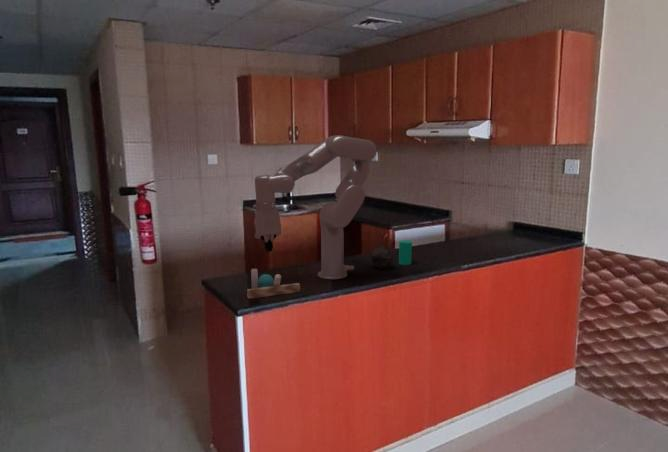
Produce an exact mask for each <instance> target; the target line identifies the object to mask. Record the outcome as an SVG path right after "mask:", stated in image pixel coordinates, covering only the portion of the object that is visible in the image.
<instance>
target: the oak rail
mask: <svg viewBox="0 0 668 452" xmlns="http://www.w3.org/2000/svg"><path fill="white" fill-rule="evenodd" d="M246 293H247V294H246V296H247V299H257V298H258V299H259V298H262V297H263V298H265V297H271V296H279V295H287V294H295V293H301V284H300V283H299V282H295V283H294V282H293V283H287V284H280V285H278V286H270V287H262V288H260V287H258V288H254V289H252V288H247V289H246Z"/></svg>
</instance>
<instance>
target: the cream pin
mask: <svg viewBox="0 0 668 452" xmlns="http://www.w3.org/2000/svg"><path fill="white" fill-rule="evenodd" d="M273 280H274V283H273V286H278V285H281V280H282V275H281V274H279V273H277V274H275V275H274V278H273Z"/></svg>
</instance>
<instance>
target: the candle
mask: <svg viewBox="0 0 668 452" xmlns="http://www.w3.org/2000/svg"><path fill="white" fill-rule="evenodd" d="M404 239H405V240H402V241H401V240H400V241H399V242H398V264H399V265H403V266H409V265H412V257H413V256H412V254H413V253H412V252H413V251H412V248H413V241H412V240H409V239H408V240H407V239H406V238H404Z"/></svg>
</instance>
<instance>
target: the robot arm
mask: <svg viewBox="0 0 668 452" xmlns="http://www.w3.org/2000/svg"><path fill="white" fill-rule="evenodd" d="M376 155H377V145H376V144H375V142H374V141H372V140H370V139H365V138H358V137H351V136H347V135H339V134H338V135H331V136H329V137H326V139H324V140H323V141H321V142H320V143H318V144H317V145H316V146H315V147H313V148H312V149H310V150H309V151H307V152H306V153H304V154H303V155H301V156H300V157H298V158H297V159H295V160H293V161H292V162H290V163H289V164H287V165H285V166H284V167H282V168H281V169H280V170H279V171H277V172H276V173H275V174H274V175H270V174H263V175H256V176H255V178H254V187H255V188H254V189H255V190H254V191H255V204H252V208H253V209H255V210H254V211H255V212H254V218H253V219H254V221H253V222H254V227H253V228H254V229H253V230H254V238H256V239H261V240H262V241H263V243H264V250H266V252H268V253H270V252H273V250H274V243H273V242H274V240H275V239H276V238H277V237H279V236H281V235H282V224H281V223H282V222H281V217H280V213H279V209H278V208H276V207H277V206H276V193H279V194H287V193H290V192H292V191H293V190H294V188H295V187H296V186H295V185H296V183H295V182H296V181H297V180H299V179H302V178H303V177H305V176H308V175H312V174H314V173H316V172H318V171H320V170H321V169H323V168H324V167H325V166H326V165H327V164H329V163H331V162H332V161H334V159H336V158H338V157H339V158H345V159H350V165H349V169H348V171H346V173H345V174H344V177H343V178H342V180H341V181H340V182H339V184H338V185H337V187H336V189H335V192H334V193H335V194H334V195H335V197H336V199H337V201H336V202H331V201H330V202H327V203H325V204H323V205H322V207H321V208H320V211H319V224H320V235H321V237H320V238H321V240H320V246H321V248H320V249H321V250H320V254H321V255H320V256H321V257H320V260H321V265H320V267H321V270H320V271H318V272H317V277H318V278H321V279H324V280H342V279H344V278H346V277H347V276H348V271H354V269H355V266H354V265H348V264H346V265H345V263H344V262H345V260H344V258H345V257H344V245H345V244H344V241H345V239H344V236H345V235H344V228H346V227H347V226H348V225H349V224H350V223H351V221H352V220H353V219H354V217H355V215H356V214H357V212H358V211H359V209H360V208H361V206H362V205H363V203H364V201H365V198H366V197H365V196H366V193H365V189H364V187H363V186H364V184H365V182H366V180H368V179H367V178H368V177H369V174H370V170H371V169H370V168H371V164H370V161H372V160H373V159H374V158H375V157H376Z"/></svg>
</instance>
